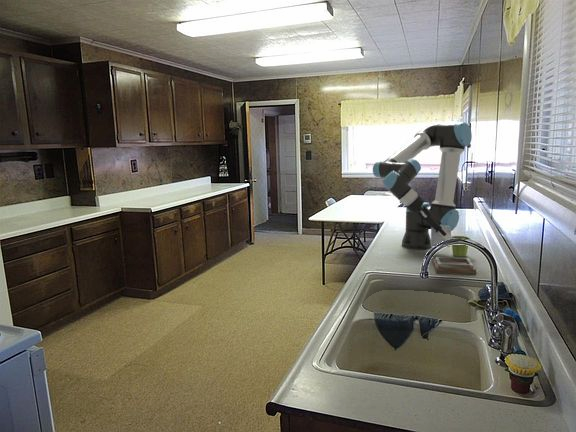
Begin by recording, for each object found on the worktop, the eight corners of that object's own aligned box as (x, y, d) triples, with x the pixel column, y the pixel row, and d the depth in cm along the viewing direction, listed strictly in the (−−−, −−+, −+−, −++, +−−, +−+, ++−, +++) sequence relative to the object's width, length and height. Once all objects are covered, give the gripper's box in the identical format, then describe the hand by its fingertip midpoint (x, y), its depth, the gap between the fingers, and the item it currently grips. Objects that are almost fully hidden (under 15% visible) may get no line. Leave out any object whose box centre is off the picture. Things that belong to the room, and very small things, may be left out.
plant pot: (445, 255, 208) (446, 238, 206) (455, 251, 214) (456, 234, 212) (463, 259, 201) (464, 241, 199) (473, 255, 206) (474, 238, 205)
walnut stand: (432, 262, 197) (432, 255, 196) (469, 264, 193) (469, 256, 193) (436, 272, 183) (436, 265, 183) (475, 274, 180) (476, 266, 179)
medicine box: (449, 244, 188) (450, 225, 186) (450, 247, 183) (451, 228, 182) (430, 243, 190) (431, 225, 188) (431, 246, 185) (432, 227, 184)
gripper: (404, 203, 195) (441, 238, 194) (406, 210, 178) (445, 249, 178) (417, 191, 193) (453, 228, 192) (419, 198, 176) (459, 238, 175)
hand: (449, 238), depth 185 cm, fingers closed on medicine box, 4 cm apart
